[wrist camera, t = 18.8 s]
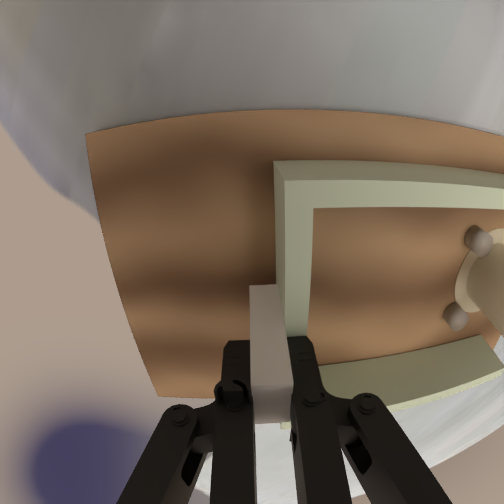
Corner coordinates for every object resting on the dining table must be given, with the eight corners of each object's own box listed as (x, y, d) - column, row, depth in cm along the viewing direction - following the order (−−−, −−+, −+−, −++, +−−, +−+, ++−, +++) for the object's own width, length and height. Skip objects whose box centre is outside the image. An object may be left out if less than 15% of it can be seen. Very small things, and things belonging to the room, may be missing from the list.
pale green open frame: (273, 160, 14) (284, 180, 10) (526, 178, 14) (568, 198, 10) (276, 378, 20) (280, 429, 16) (476, 342, 20) (500, 375, 16)
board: (97, 131, 14) (70, 137, 12) (538, 148, 14) (563, 157, 11) (161, 383, 23) (154, 410, 20) (484, 343, 23) (498, 362, 20)
